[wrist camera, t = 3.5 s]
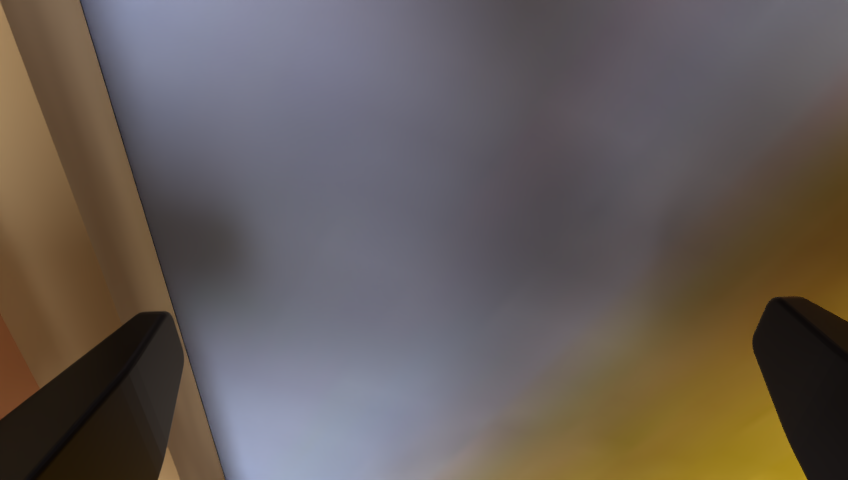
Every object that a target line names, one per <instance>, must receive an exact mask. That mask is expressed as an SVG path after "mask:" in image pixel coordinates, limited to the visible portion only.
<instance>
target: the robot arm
mask: <svg viewBox="0 0 848 480" xmlns="http://www.w3.org/2000/svg"><path fill="white" fill-rule="evenodd" d="M753 350H754V354H755V356H756V359H757V362H758V364H759V367H760V369H761V372H762V375H763V377H764V380H765V382H766V385H767V388H768V390H769V393H770V396H771V398H772V401H773V403H774V406H775V409H776V411H777V414H778V417H779V419H780V422H781V424H782V427H783V429H784V432H785V434H786V436H787V439H788V441H789V443H790V445H791V447H792V450H793V452H794V454H795V456H796V458H797V460H798V462H799V464H800V466H801V468H802V470H803V472H804V474H805V476H806V478H807V479H808V480H848V322H847V321H845V320H843V319H842V318H840V317H838V316H836V315H834V314H833V313H831V312H829V311H827V310H825V309H823V308H822V307H820V306H818V305H816V304H814V303H812V302H811V301H809V300H807V299H805V298H803V297H797V296H791V297H775V298H772V299H771V300H770V301H769V302H768V304H767V306H766V308H765V310H764V312H763V315H762V317H761V319H760V321H759V324H758V326H757V328H756V330H755V333H754V335H753ZM183 367H184V351H183V348H182V344H181V341H180V338H179V335H178V332H177V328H176V325H175V322H174V319H173V317H172V315H171V314H170V313H169V312H167V311H144V312H140V313H138V314H136V315H135V316H134V317H132V318H131V319H130V320H128V321H127V322H126V323H124V324H123V325H122V326H121V327H119V328H118V329H117V330H115V331H114V332H113V333H112V334H110V335H109V336H108V337H106V338H105V339H104V340H103V341H101V342H100V343H99V344H97V345H96V346H95V347H94V348H92V349H91V350H90V351H88V352H87V353H86V354H84V355H83V356H82V357H81V358H79V359H78V360H77V361H75V362H74V363H73V364H72V365H70V366H69V367H68V368H66V369H65V370H64V371H63V372H61V373H60V374H59V375H57V376H56V377H55V378H53V379H52V380H51V381H50V382H48V383H47V384H46V385H44V386H43V387H42V388H41V389H39V390H38V391H37V392H35V393H34V394H33V395H32V396H30V397H29V398H28V399H26V400H25V401H24V402H22V403H21V404H20V405H19V406H17V407H16V408H15V409H13V410H12V411H11V412H10V413H8V414H7V415H6V416H4V417H3V418H2V419H1V420H0V480H158V478H159V475H160V472H161V469H162V465H163V462H164V458H165V454H166V449H167V445H168V440H169V435H170V430H171V426H172V421H173V416H174V411H175V406H176V401H177V396H178V392H179V387H180V382H181V377H182V372H183Z"/></svg>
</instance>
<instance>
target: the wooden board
mask: <svg viewBox="0 0 848 480" xmlns="http://www.w3.org/2000/svg"><path fill="white" fill-rule="evenodd" d="M144 311H167V312H169V313H170V314H171V315H172V317H173V319H174V322H175V325H176V328H177V332H178V335H179V338H180V341H181V344H182V348H183V351H184V367H183V372H182V377H181V382H180V387H179V392H178V396H177V401H176V406H175V411H174V416H173V421H172V426H171V430H170V435H169V440H168V445H167V449H166V454H165V458H164V462H163V465H162V469H161V472H160V475H159V478H158V480H225V478H224V474H223V471H222V468H221V465H220V461H219V458H218V455H217V451H216V448H215V445H214V441H213V438H212V435H211V432H210V428H209V425H208V422H207V418H206V415H205V412H204V409H203V405H202V402H201V399H200V395H199V392H198V389H197V386H196V382H195V379H194V376H193V372H192V369H191V366H190V362H189V359H188V356H187V353H186V349H185V346H184V343H183V339H182V336H181V333H180V330H179V326H178V323H177V320H176V316H175V313H174V310H173V307H172V303H171V300H170V297H169V293H168V290H167V287H166V283H165V280H164V277H163V274H162V270H161V267H160V264H159V260H158V257H157V254H156V251H155V247H154V244H153V241H152V237H151V234H150V231H149V228H148V224H147V221H146V218H145V214H144V211H143V208H142V204H141V201H140V198H139V195H138V191H137V188H136V185H135V181H134V178H133V175H132V172H131V168H130V165H129V162H128V158H127V155H126V152H125V149H124V145H123V142H122V139H121V135H120V132H119V129H118V125H117V122H116V119H115V116H114V112H113V109H112V106H111V102H110V99H109V96H108V93H107V89H106V86H105V83H104V79H103V76H102V73H101V70H100V66H99V63H98V60H97V56H96V53H95V50H94V46H93V43H92V40H91V37H90V33H89V30H88V27H87V23H86V20H85V17H84V14H83V10H82V7H81V4H80V0H0V314H1V316H2V318H3V320H4V322H5V323H6V325H7V327H8V329H9V331H10V333H11V335H12V337H13V339H14V341H15V342H16V344H17V346H18V348H19V350H20V352H21V354H22V356H23V358H24V360H25V361H26V363H27V365H28V367H29V369H30V371H31V373H32V375H33V377H34V379H35V380H36V382H37V384H38V386H39V388H40V389H41V388H42V387H43V386H44V385H46V384H47V383H48V382H50V381H51V380H52V379H53V378H55V377H56V376H57V375H59V374H60V373H61V372H63V371H64V370H65V369H66V368H68V367H69V366H70V365H72V364H73V363H74V362H75V361H77V360H78V359H79V358H81V357H82V356H83V355H84V354H86V353H87V352H88V351H90V350H91V349H92V348H94V347H95V346H96V345H97V344H99V343H100V342H101V341H103V340H104V339H105V338H106V337H108V336H109V335H110V334H112V333H113V332H114V331H115V330H117V329H118V328H119V327H121V326H122V325H123V324H124V323H126V322H127V321H128V320H130V319H131V318H132V317H134V316H135V315H136V314H138V313H140V312H144Z"/></svg>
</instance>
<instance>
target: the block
mask: <svg viewBox="0 0 848 480" xmlns="http://www.w3.org/2000/svg"><path fill="white" fill-rule="evenodd" d="M39 389H40V388H39V386H38V384H37V382H36V380H35V379H34V377H33V375H32V373H31V371H30V369H29V367H28V365H27V363H26V361H25V360H24V358H23V356H22V354H21V352H20V350H19V348H18V346H17V344H16V342H15V341H14V339H13V337H12V335H11V333H10V331H9V329H8V327H7V325H6V323H5V322H4V320H3V318H2V316H1V314H0V420H1V419H2V418H3V417H4V416H6V415H7V414H8V413H10V412H11V411H12V410H13V409H15V408H16V407H17V406H19V405H20V404H21V403H22V402H24V401H25V400H26V399H28V398H29V397H30V396H32V395H33V394H34V393H35V392H37V391H38V390H39Z"/></svg>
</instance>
